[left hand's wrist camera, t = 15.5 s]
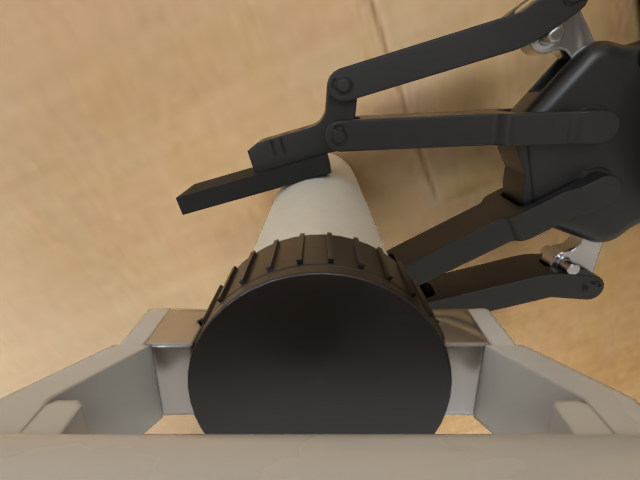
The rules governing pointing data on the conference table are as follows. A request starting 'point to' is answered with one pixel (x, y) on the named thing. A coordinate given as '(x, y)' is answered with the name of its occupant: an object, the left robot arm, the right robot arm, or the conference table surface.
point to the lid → (319, 345)
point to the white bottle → (321, 209)
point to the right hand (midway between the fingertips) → (211, 251)
